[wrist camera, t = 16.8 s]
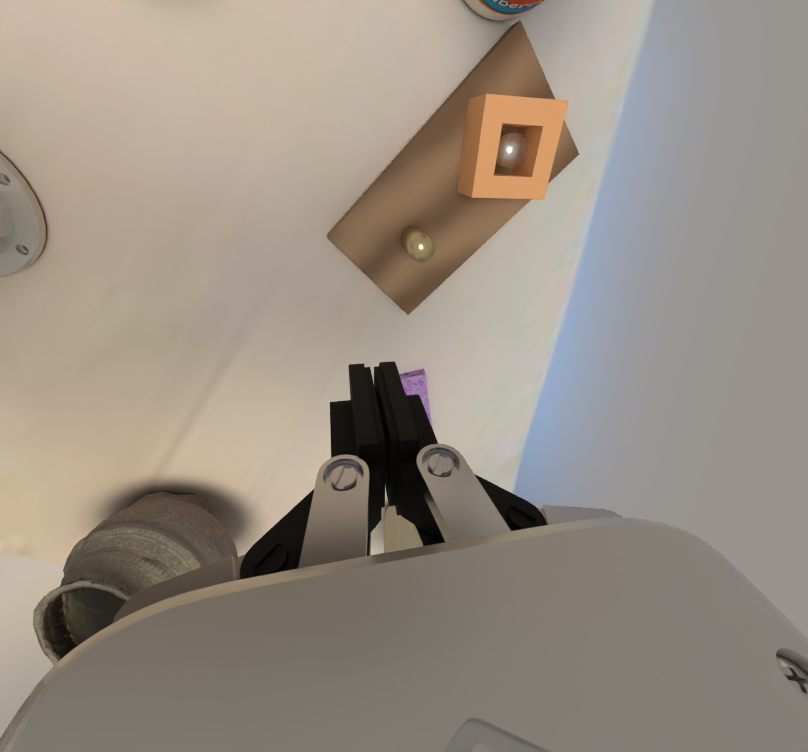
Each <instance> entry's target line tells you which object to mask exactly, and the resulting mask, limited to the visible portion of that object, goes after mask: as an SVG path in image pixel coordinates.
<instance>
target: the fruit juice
mask: <svg viewBox="0 0 808 752" xmlns="http://www.w3.org/2000/svg"><path fill="white" fill-rule="evenodd" d="M464 1H465V2H466V3H467V4H468V6H469V7H470V8H471V9H472V10H474V11H475V12H476V13H478V14H479V15H481V16H483V17H485V18H488V19H491V20H508V19H512V18H515V17H518V16H520V15H522V14H524V13H526V12H527V11H529V10H530V9H532V8H534V7H535V6H537V5H538V4H540V3H541V2H543V1H544V0H464Z"/></svg>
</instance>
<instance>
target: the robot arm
mask: <svg viewBox="0 0 808 752" xmlns="http://www.w3.org/2000/svg"><path fill="white" fill-rule="evenodd" d="M8 177H9V178H8ZM45 240H46V226H45V221H44V217H43V213H42V210H41V208H40V206H39V203H38V201H37V199H36V196H35V195H34V193H33V192H32V190H31V189H30V187H29V185H28V184H27V182H26V181H25V179H24V178H23V177H22V176H21V174H20V173H19V172H18V171H17V170H16V169H15V167H14V166H13V165H12V164H11V163H10V162H9V161H8V160H7V159H6V158H5V157H4V156H3V155H2V154H1V153H0V277H2V276H5V275H9V274H13V273H15V272H18V271H20V270H22V269H24V268H27V267H28V266H29V265H30V264H32V263H33V262H34V261H36V259H37V258H38V257H39V255H40V254H41V252H42V250H43V247H44V244H45ZM349 379H350V396H351V400H348V401H337V402H330V424H331V458H330V459H329V460H328V461H326V462H325V463H324V464H323V465H322V466H321V467H320V469H319V472H318V474H317V479H316V484H315V489H314V490H312V491H311V492H310V493H309V494H308V495H307V496H306V497H305V498H304V499H303V500H302V501H301V502H299V503H298V504H297V505H296V506H295V507H294V508H293V509H292V510H291V511H290V512H289V513H288V514H286V515H285V516H284V517H283V518H282V519H281V520H280V521H279V522H278V523H277V524H276V525H275V526H274V527H272V528H271V529H270V530H269V531H268V532H267V533H266V534H265V535H264V536H263V537H262V538H261V539H259V540H258V541H257V542H256V543H255V544H254V545H253V546H252V547H251V548H250V550H249V551H248V552H247V553H246V555H243V556H240V557H238V558H235V559H234V558H233V556H229V557H227V558H224V559H221V560H219V561H216V562H213V563H211V564H208V565H205V566H203V567H200V568H197V569H195V570H192V571H189V572H187V573H184V574H181V575H179V576H176V577H173V578H171V579H168V580H165V581H162V582H160V583H157V584H154V585H152V586H149V587H147V588H145V589H143V590H141V591H139V592H138V593H136V594H135V595H133V596H132V597H131V598H130V599H129V600H128V601H126V602H125V603H124V605H123V606H122V607H121V609H120V610H119V611H118V613H117V614H116V615H115V618H114V620H113V623H112V624H111V625H110V626H108V627H106V628H104V629H103V630H101V631H99V632H98V633H96V634H95V635H93V636H92V637H90V638H89V639H87V640H86V641H84V642H83V643H81V644H80V645H78V646H77V647H76V648H74V649H73V650H72V651H70V652H69V653H68V654H67V655H65V656H64V657H63V658H62V659H61V660H60V661H59V662H58V663H57V664H55V665H54V666H53V667H52V669H51V670H50V671H49V672H48V673H47V674H46V675H45V676H44V677H43V679H42V680H41V681H40V682H39V683H38V684H37V686H36V687H35V688H34V690H33V691H32V692H31V694H30V695H29V696H28V698H27V699H26V700H25V702H24V703H23V704H22V706H21V707H20V709H19V710H18V712H17V713H16V715H15V716H14V718H13V719H12V721H11V722H10V724H9V725H8V727H7V728H6V730H5V732H4V733H3V735H2V737H1V738H0V752H808V639H807V638H806V637H805V636H804V635H803V634H802V633H801V632H800V631H799V630H798V629H797V628H796V627H795V626H794V625H793V623H792V622H790V620H789V619H788V618H787V617H786V616H785V615H784V614H783V613H782V612H781V611H780V610H779V609H778V608H777V607H776V606H775V605H774V604H773V603H772V602H771V601H770V600H769V599H768V598H767V597H766V596H765V595H764V594H763V593H762V592H761V591H760V590H759V589H758V588H757V587H756V586H755V585H754V584H753V583H752V582H751V581H750V580H749V579H748V578H747V577H746V576H745V575H744V574H742V573H741V572H740V571H739V570H738V569H737V568H736V567H735V566H734V565H733V564H731V562H730V561H728V560H727V559H726V558H725V557H724V556H723V555H722V554H720V553H719V552H718V551H717V550H716V549H714V548H713V547H712V546H711V545H709V544H708V543H706V542H705V541H703V540H702V539H701V538H699V537H697V536H695V535H694V534H692V533H690V532H688V531H685V530H683V529H680V528H677V527H673V526H670V525H667V524H663V523H659V522H654V521H649V520H644V519H635V518H623V517H621V516H620V515H618V514H616V513H614V512H612V511H609V510H605V509H594V508H580V507H565V506H549V505H543V506H542V508H536V507H535V506H534V505H532V504H531V503H529V502H528V501H526V500H524V499H522V498H520V497H518V496H516V495H514V494H512V493H510V492H508V491H506V490H504V489H502V488H500V487H498V486H497V485H495V484H493V483H491V482H489V481H487V480H485V479H483V478H481V477H479V476H477V475H475V474H474V473H473V471H472V470H471V468H470V467H469V465H468V464H467V462H466V461H465V459H464V457H463V456H462V455H461V454H460V453H459V451H457V450H456V449H454V448H453V447H451V446H448V445H445V444H438V442H437V440H436V437H435V434H434V432H433V429H432V426H431V424H430V421H429V419H428V416H427V413H426V411H425V408H424V405H423V403H422V400H421V398H420V396H419V395H418V394H416V395H406V394H405V391H404V388H403V385H402V382H401V379H400V376H399V373H398V369H397V366H396V363H395V362H380V364H379V367H374V384H373V379H372V375H371V370H370V367H364V364H351V365H349ZM385 486H386V492H387V497H388V503H389V506H395V508H396V513H397V516H398V515H401V517H403V518H405V519H406V520H408V521H409V522H411V528H412V532H413V534H414V537H415V539H416V542H417V544H418V547H417V548H411V549H405V550H399V551H394V552H388V553H382V554H377V555H371V556H370V550H371V532H372V530H373V529H374V528H375V527H376V525H377V524H378V523H379V522H380V520H381V508H383V507H385Z"/></svg>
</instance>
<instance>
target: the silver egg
mask: <svg viewBox="0 0 808 752" xmlns="http://www.w3.org/2000/svg"><path fill="white" fill-rule="evenodd" d="M526 151H527V143H526V140H525V138H524V136H523V135H521V134H520V133H501V135H500V141H499V147H498V153H497V159H496V165H495V166H501V167H508V168H513V167H516V166H517V165H519V164H520V163H521V162H522V160H523V159H524V157H525V155H526Z"/></svg>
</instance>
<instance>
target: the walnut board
mask: <svg viewBox="0 0 808 752" xmlns="http://www.w3.org/2000/svg"><path fill="white" fill-rule="evenodd" d="M484 94H495V95H507V96H519V97H531V98H543V99H555V98H554V96H553V93H552V91H551V89H550V87H549V84H548V82H547V80H546V78H545V75H544V73H543V71H542V68H541V66H540V64H539V62H538V59H537V57H536V55H535V53H534V50H533V48H532V46H531V43H530V41H529V39H528V37H527V34H526V32H525V30H524V28H523V25H522V23H521V21H519V22H517V23H515V24H514V25H512V26H511V27H510V28H509V29H508V31H507V32H506V33H505V34H504V35H503V36H502V37H501V39H500V40H499V41H498V42H497V43H496V44H495V45H494V46H493V48H492V49H491V50H490V51H489V52H488V53H487V54H486V56H485V57H484V58H483V59H482V60H481V61H480V62H479V63H478V65H477V66H476V67H475V68H474V69H473V70H472V71H471V72H470V74H469V75H468V76H467V77H466V78H465V79H464V80H463V82H462V83H461V84H460V85H459V86H458V87H457V88H456V89H455V91H454V92H453V93H452V94H451V95H450V96H449V97H448V99H447V100H446V101H445V102H444V103H443V104H442V105H441V106H440V108H439V109H438V110H437V111H436V112H435V113H434V114H433V116H432V117H431V118H430V119H429V120H428V121H427V122H426V123H425V125H424V126H423V127H422V128H421V129H420V130H419V131H418V132H417V134H416V135H415V136H414V137H413V138H412V139H411V140H410V142H409V143H408V144H407V145H406V146H405V147H404V148H403V149H402V151H401V152H400V153H399V154H398V155H397V156H396V157H395V159H394V160H393V161H392V162H391V163H390V164H389V165H388V166H387V168H386V169H385V170H384V171H383V172H382V173H381V174H380V176H379V177H378V178H377V179H376V180H375V181H374V182H373V183H372V185H371V186H370V187H369V188H368V189H367V190H366V191H365V192H364V194H363V195H362V196H361V197H360V198H359V199H358V200H357V202H356V203H355V204H354V205H353V206H352V207H351V208H350V209H349V211H348V212H347V213H346V214H345V215H344V216H343V217H342V219H341V220H340V221H339V222H338V223H337V224H336V225H335V226H334V228H333V229H332V230H331V231H330V232H329V233H328V234H327V237H328V239H329V240H330V241H331V242H332V243H333V244H334V245H335V246H337V247H338V248H339V249H340V250H341V251H342V252H343V253H344V254H345V255H346V256H347V257H348V258H349V259H350V260H351V261H352V262H353V263H354V264H355V265H356V266H357V267H359V268H360V269H361V270H362V271H363V272H364V273H365V274H366V275H367V276H368V277H369V278H370V279H371V280H372V281H373V282H374V283H375V284H376V285H377V286H378V287H379V288H381V289H382V290H383V291H384V292H385V293H386V294H387V295H388V296H389V297H390V298H391V299H392V300H393V301H394V302H395V303H396V304H397V305H398V306H399V307H400V308H401V309H403V310H404V311H405V312H406V313H407V314H408V315H409V314H410V313H411V312H412V311H413V310H414V309H415V308H416V307H417V306H418V305H419V304H420V303H421V302H423V301H424V300H425V299H426V298H427V297H428V296H429V295H430V294H431V293H432V292H433V291H434V290H435V289H436V288H437V287H438V286H440V285H441V284H442V283H443V282H444V281H445V280H446V279H447V278H448V277H449V276H450V275H451V274H452V273H453V272H454V271H456V270H457V269H458V268H459V267H460V266H461V265H462V264H463V263H464V262H465V261H466V260H467V259H468V258H469V257H470V256H471V255H473V254H474V253H475V252H476V251H477V250H478V249H479V248H480V247H481V246H482V245H483V244H484V243H485V242H486V241H487V240H488V239H490V238H491V237H492V236H493V235H494V234H495V233H496V232H497V231H498V230H499V229H500V228H501V227H502V226H503V225H504V224H506V223H507V222H508V221H509V220H510V219H511V218H512V217H513V216H514V215H515V214H516V213H517V212H518V211H519V210H520V209H521V208H523V207H524V206H525V205H526V204H527V203H528V202H529V201H530V200H531V199H513V198H472V197H469V196H467V195H464V194H461V193H459V192H457V190H458V182H459V173H460V165H461V156H462V148H463V139H464V130H465V122H466V113H467V105H468V99H470V98H474V97H477V96H480V95H484ZM519 132H520V128H519V127H504V126H502V129H501V133H519ZM578 155H579V153H578V150H577V148H576V146H575V143H574V141H573V139H572V137H571V134H570V132H569V130H568V128H567V125H566V123H565V121H563V125H562V129H561V133H560V137H559V141H558V145H557V149H556V153H555V157H554V161H553V165H552V169H551V173H550V177H549V182H550V181H551V180H552V179H553V178H554V177H556V176H557V175H558V174H559V173H560V172H561V171H562V170H563V169H564V168H565V167H566V166H567V165H568V164H569V163H570V162H571V161H573V160H574V159H575V158H576V157H577V156H578ZM494 173H510V174H511V173H512V168H508V167H501V166H495V171H494ZM549 182H548V183H549ZM411 225H415V226H418V227H419V228H420V229H422V230H423V231H424V232H425V233H426V234H427V235H428V236H429V237H430V238H432V240H433V241H434V243H435V253H434V255H433V257H432V258H431V259H430V260H429V261H427V262H424V263H419V262H417V261H415V260H414V259H413V258H412V257H411V255H410V254H409V253H408V252H407V250H406V249H405V248H404V246H403V245H402V242H401V234H402V232H403V230H404V229H405V228H406V227H408V226H411Z"/></svg>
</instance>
